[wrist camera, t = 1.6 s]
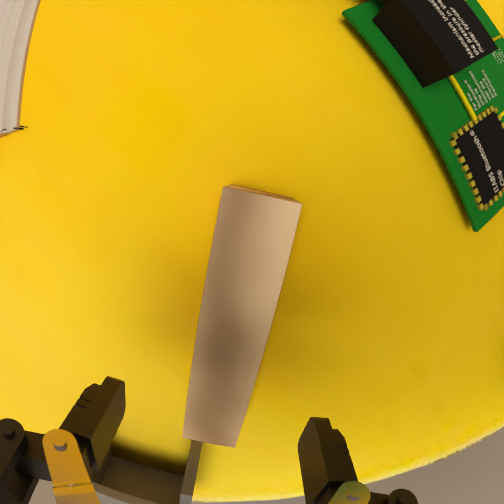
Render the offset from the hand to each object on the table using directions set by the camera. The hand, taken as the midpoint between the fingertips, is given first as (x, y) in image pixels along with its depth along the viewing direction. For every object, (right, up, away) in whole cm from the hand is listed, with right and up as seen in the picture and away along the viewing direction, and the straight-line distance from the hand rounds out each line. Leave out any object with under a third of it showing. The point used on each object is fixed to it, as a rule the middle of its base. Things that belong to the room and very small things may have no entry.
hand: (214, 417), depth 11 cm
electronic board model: (+16, +25, +5) cm, 30 cm away
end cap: (-9, -14, +15) cm, 23 cm away
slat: (0, +2, +11) cm, 11 cm away
